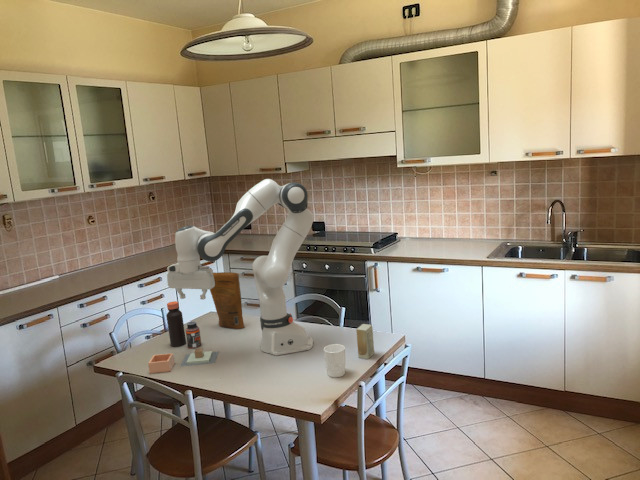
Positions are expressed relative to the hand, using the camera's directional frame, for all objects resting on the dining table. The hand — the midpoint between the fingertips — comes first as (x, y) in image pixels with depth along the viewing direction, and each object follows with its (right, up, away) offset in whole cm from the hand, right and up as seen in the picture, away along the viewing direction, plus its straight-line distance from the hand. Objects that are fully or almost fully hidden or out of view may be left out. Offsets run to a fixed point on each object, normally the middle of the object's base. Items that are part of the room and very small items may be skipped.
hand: (193, 298), depth 215 cm
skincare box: (+70, -22, -7) cm, 74 cm away
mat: (+2, -26, +3) cm, 26 cm away
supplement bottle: (-3, -24, +18) cm, 30 cm away
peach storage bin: (-11, -28, -3) cm, 31 cm away
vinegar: (-12, -24, +21) cm, 34 cm away
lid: (+2, -25, +3) cm, 25 cm away
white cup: (+58, -26, -20) cm, 67 cm away
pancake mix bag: (+9, -18, +40) cm, 44 cm away
